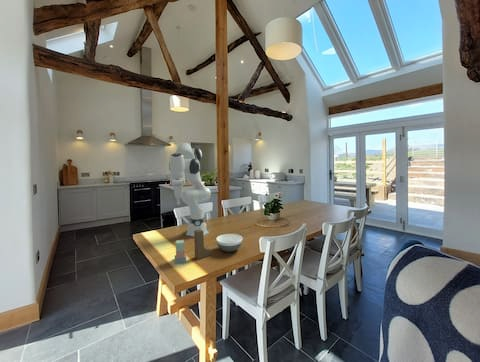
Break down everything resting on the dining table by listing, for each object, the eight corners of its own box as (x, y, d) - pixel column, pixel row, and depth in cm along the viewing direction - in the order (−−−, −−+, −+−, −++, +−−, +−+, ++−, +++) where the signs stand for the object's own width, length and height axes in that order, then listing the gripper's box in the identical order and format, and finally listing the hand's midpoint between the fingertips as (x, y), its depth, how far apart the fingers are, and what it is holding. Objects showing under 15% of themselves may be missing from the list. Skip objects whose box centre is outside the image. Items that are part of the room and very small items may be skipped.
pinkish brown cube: (176, 255, 145) (176, 248, 144) (184, 254, 146) (184, 247, 146) (176, 259, 140) (176, 251, 139) (184, 258, 141) (184, 250, 141)
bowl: (211, 248, 163) (211, 236, 162) (233, 242, 173) (233, 232, 172) (224, 257, 147) (224, 245, 146) (247, 251, 157) (247, 239, 156)
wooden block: (206, 253, 154) (205, 227, 152) (210, 255, 150) (209, 229, 148) (194, 257, 148) (193, 230, 146) (198, 259, 144) (197, 232, 143)
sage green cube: (176, 248, 144) (175, 240, 144) (184, 247, 146) (183, 239, 145) (176, 251, 139) (175, 243, 139) (184, 250, 141) (184, 242, 140)
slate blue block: (174, 258, 146) (174, 255, 145) (186, 257, 147) (186, 253, 147) (174, 263, 139) (174, 260, 139) (186, 262, 141) (186, 258, 140)
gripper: (172, 178, 147) (173, 199, 148) (171, 182, 127) (172, 206, 129) (182, 178, 149) (183, 199, 150) (183, 181, 129) (184, 205, 130)
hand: (178, 202), depth 139 cm, fingers open, 8 cm apart
